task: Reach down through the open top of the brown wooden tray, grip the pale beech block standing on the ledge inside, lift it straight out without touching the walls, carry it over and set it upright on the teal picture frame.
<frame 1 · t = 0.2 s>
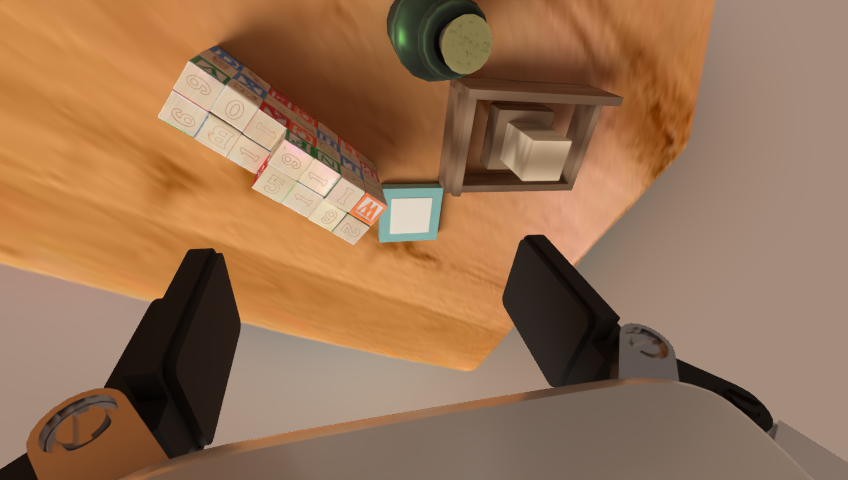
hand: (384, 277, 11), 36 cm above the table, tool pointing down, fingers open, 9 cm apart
beech block: (520, 141, 47), point 3 cm above the table, touching brown wooden tray
potion bottle: (414, 25, 39), on the table
stack of blocks: (292, 131, 43), on the table
brown wooden tray: (511, 134, 50), on the table
teal picture frame: (408, 210, 53), on the table
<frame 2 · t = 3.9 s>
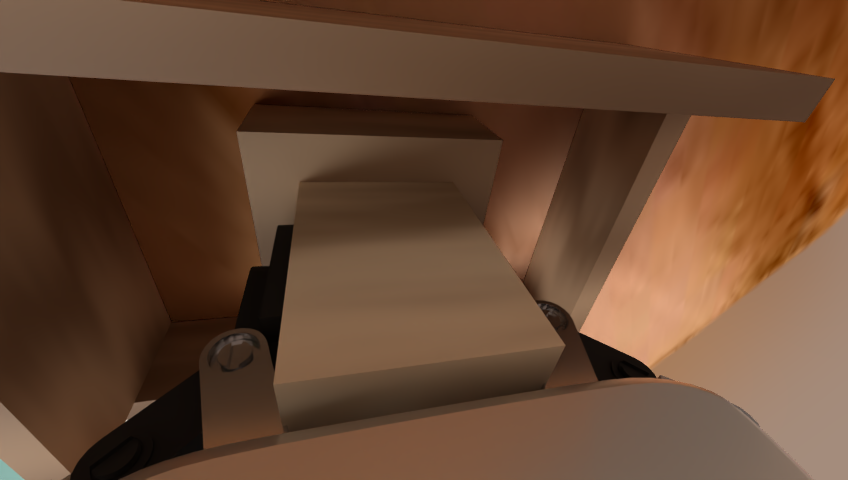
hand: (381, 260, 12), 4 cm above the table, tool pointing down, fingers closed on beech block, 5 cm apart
beech block: (377, 244, 13), point 3 cm above the table, touching gripper, brown wooden tray
brown wooden tray: (369, 205, 15), on the table
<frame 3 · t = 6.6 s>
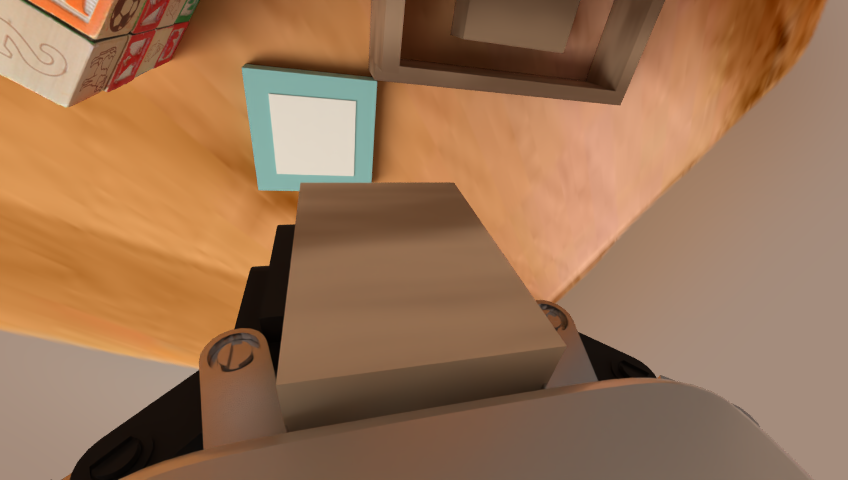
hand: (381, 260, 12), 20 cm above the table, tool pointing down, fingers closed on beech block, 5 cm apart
beech block: (378, 245, 13), point 19 cm above the table, touching gripper
teal picture frame: (315, 132, 28), on the table
when the fingers open (3 cm above the table, at t = 9.2 s): beech block stays where it is, resting on teal picture frame.
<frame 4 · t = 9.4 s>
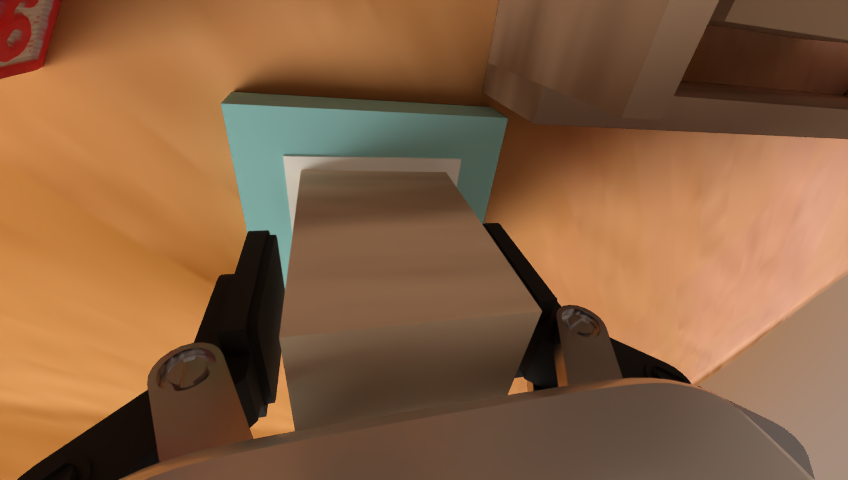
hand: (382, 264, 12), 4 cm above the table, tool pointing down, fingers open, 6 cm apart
beech block: (374, 232, 13), point 2 cm above the table, touching teal picture frame
teal picture frame: (370, 211, 15), on the table
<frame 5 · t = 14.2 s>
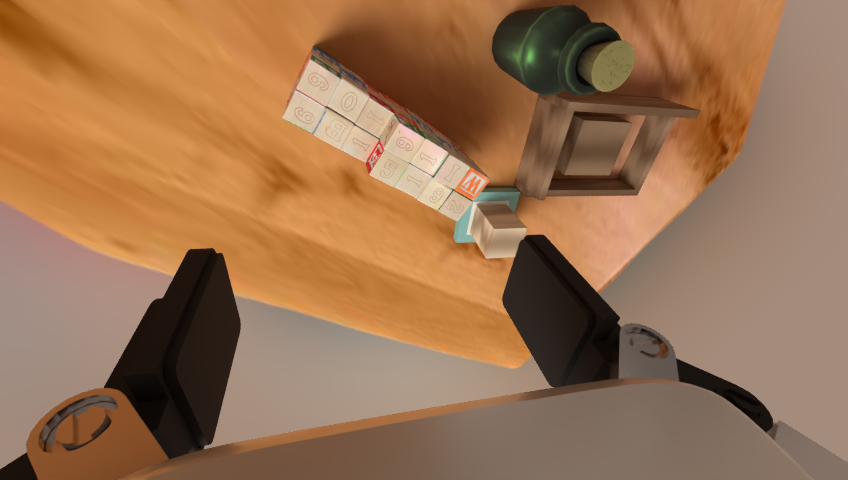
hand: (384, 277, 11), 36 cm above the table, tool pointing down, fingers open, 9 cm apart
beech block: (487, 218, 55), point 2 cm above the table, touching teal picture frame
potion bottle: (515, 42, 43), on the table
stack of blocks: (380, 120, 45), on the table
brown wooden tray: (585, 142, 53), on the table
teal picture frame: (484, 213, 56), on the table
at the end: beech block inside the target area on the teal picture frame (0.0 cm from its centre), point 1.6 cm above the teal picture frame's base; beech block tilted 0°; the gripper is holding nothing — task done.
